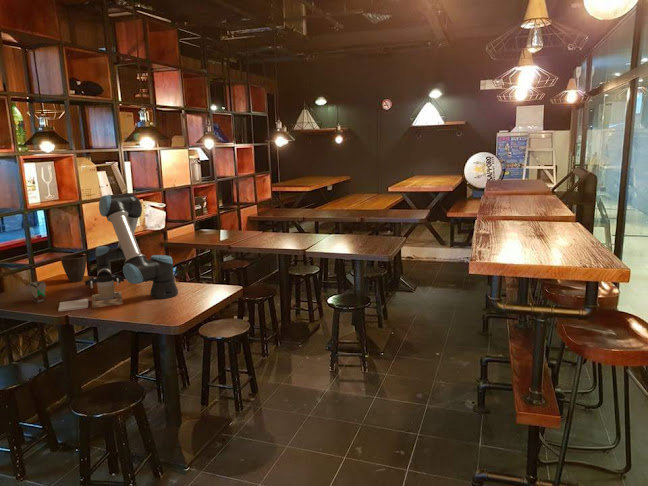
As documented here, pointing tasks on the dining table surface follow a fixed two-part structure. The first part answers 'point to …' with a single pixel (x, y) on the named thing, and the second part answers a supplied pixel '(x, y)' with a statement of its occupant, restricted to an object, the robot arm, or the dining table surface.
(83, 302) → the grey mat
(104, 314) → the dining table surface
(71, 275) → the plant pot
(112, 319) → the dining table surface
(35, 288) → the food container
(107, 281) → the coffee cup
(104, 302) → the cup holder
